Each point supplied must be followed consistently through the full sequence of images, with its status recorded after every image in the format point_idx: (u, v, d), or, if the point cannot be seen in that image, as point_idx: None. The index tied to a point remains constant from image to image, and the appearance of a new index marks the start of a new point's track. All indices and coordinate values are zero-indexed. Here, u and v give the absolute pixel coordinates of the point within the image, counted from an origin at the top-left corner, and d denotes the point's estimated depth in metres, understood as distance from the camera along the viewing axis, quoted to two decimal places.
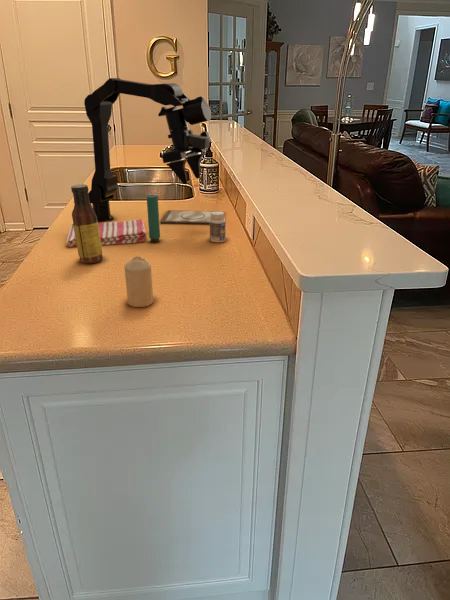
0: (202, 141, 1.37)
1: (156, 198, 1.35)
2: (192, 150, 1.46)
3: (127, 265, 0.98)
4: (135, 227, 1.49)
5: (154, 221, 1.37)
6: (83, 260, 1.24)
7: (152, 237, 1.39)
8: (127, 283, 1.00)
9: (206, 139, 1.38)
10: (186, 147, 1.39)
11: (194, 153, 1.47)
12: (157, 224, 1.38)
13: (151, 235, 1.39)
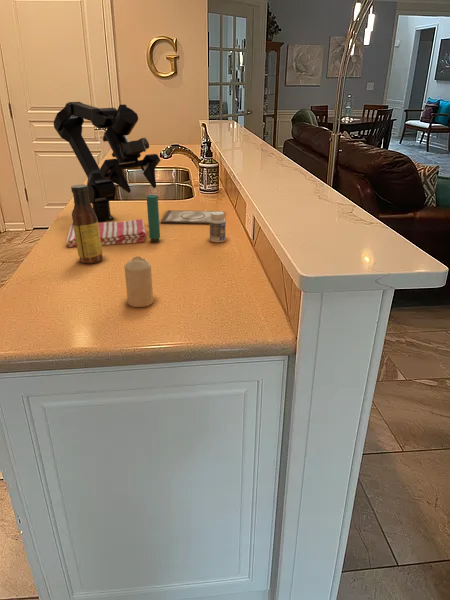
0: (130, 144, 1.35)
1: (156, 198, 1.35)
2: (143, 162, 1.45)
3: (127, 265, 0.98)
4: (135, 227, 1.49)
5: (154, 221, 1.37)
6: (83, 260, 1.24)
7: (152, 237, 1.39)
8: (127, 283, 1.00)
9: (135, 141, 1.35)
10: (123, 157, 1.38)
11: (147, 165, 1.45)
12: (157, 224, 1.38)
13: (151, 235, 1.39)
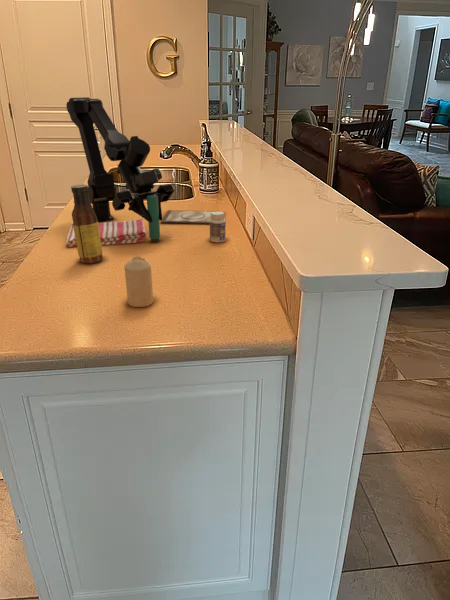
0: (142, 175, 1.32)
1: (156, 198, 1.35)
2: (149, 194, 1.40)
3: (127, 265, 0.98)
4: (135, 227, 1.49)
5: (154, 221, 1.37)
6: (83, 260, 1.24)
7: (152, 237, 1.39)
8: (127, 283, 1.00)
9: (147, 172, 1.32)
10: (135, 188, 1.36)
11: None
12: (157, 224, 1.38)
13: (151, 235, 1.39)
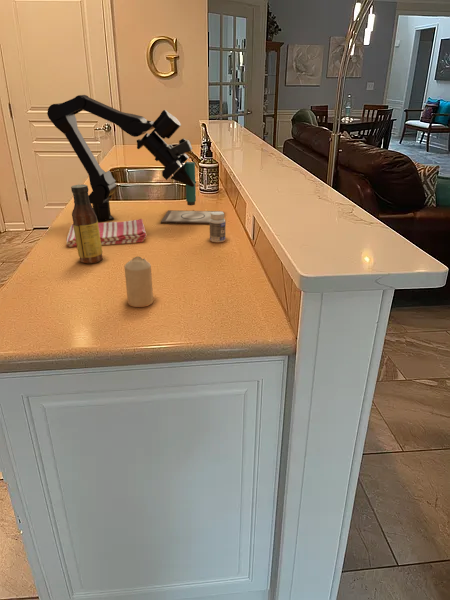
0: (186, 144, 1.47)
1: (194, 164, 1.52)
2: None
3: (127, 265, 0.98)
4: (135, 227, 1.49)
5: (194, 185, 1.54)
6: (83, 260, 1.24)
7: (192, 200, 1.56)
8: (127, 283, 1.00)
9: (187, 141, 1.48)
10: (175, 158, 1.49)
11: None
12: (195, 187, 1.55)
13: (192, 198, 1.55)
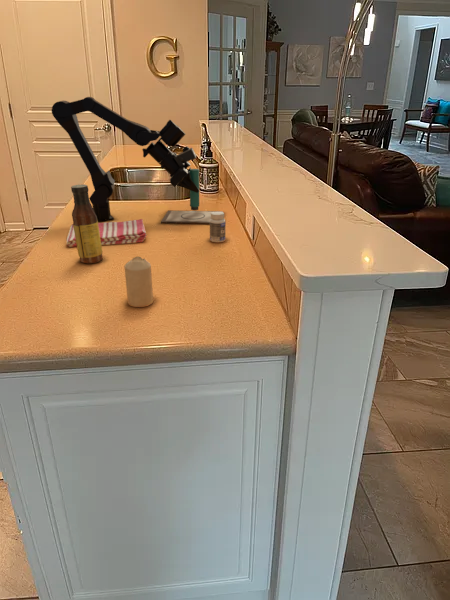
0: (191, 152, 1.54)
1: None
2: None
3: (127, 265, 0.98)
4: (135, 227, 1.49)
5: None
6: (83, 260, 1.24)
7: (196, 205, 1.63)
8: (127, 283, 1.00)
9: (192, 149, 1.55)
10: (181, 165, 1.55)
11: None
12: None
13: (196, 203, 1.62)
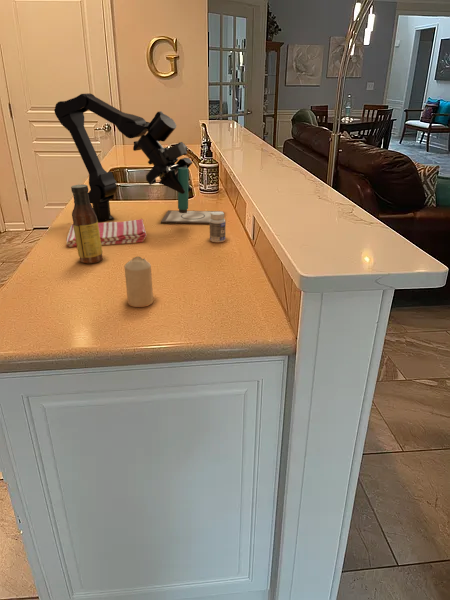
0: (175, 148, 1.39)
1: (188, 170, 1.43)
2: (173, 168, 1.46)
3: (127, 265, 0.98)
4: (135, 227, 1.49)
5: (186, 192, 1.45)
6: (83, 260, 1.24)
7: (183, 208, 1.47)
8: (127, 283, 1.00)
9: (179, 145, 1.39)
10: (165, 162, 1.41)
11: (176, 170, 1.47)
12: (187, 195, 1.46)
13: (182, 205, 1.46)
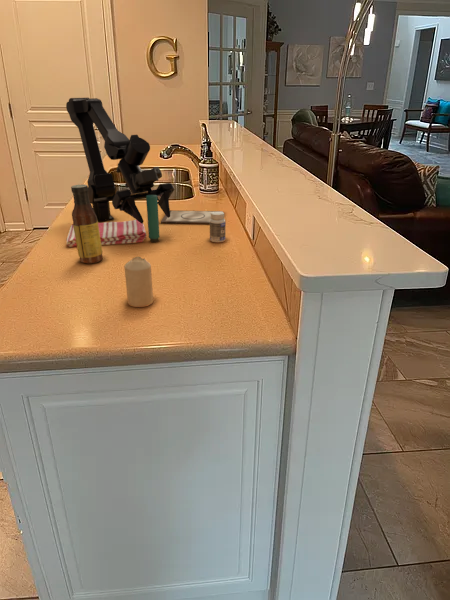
0: (142, 174, 1.32)
1: (155, 198, 1.35)
2: (157, 192, 1.41)
3: (127, 265, 0.98)
4: (135, 227, 1.49)
5: (154, 221, 1.37)
6: (83, 260, 1.24)
7: (151, 237, 1.39)
8: (127, 283, 1.00)
9: (147, 171, 1.32)
10: (135, 187, 1.35)
11: (160, 194, 1.41)
12: (156, 224, 1.38)
13: (150, 234, 1.39)
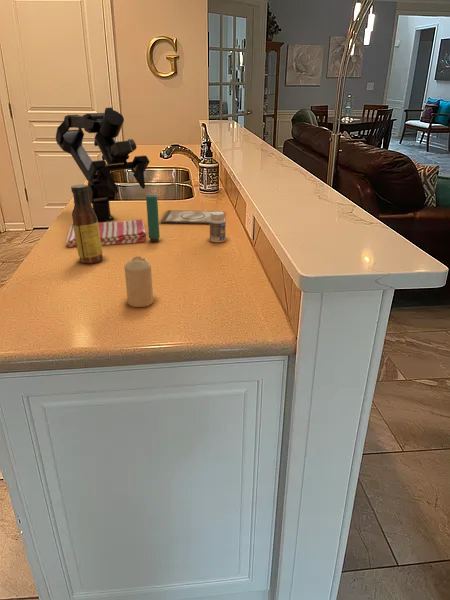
0: (116, 145, 1.37)
1: (155, 198, 1.35)
2: (132, 164, 1.46)
3: (127, 265, 0.98)
4: (135, 227, 1.49)
5: (154, 221, 1.37)
6: (83, 260, 1.24)
7: (151, 237, 1.39)
8: (127, 283, 1.00)
9: (121, 142, 1.37)
10: (110, 158, 1.41)
11: (136, 166, 1.47)
12: (156, 224, 1.38)
13: (150, 234, 1.39)
